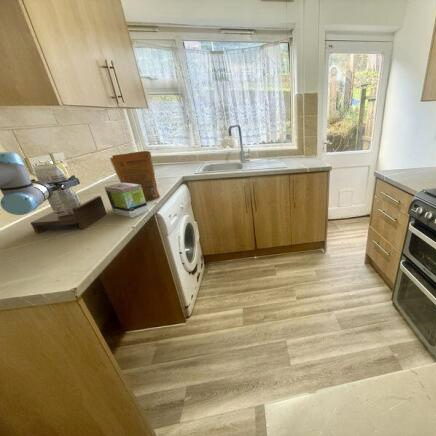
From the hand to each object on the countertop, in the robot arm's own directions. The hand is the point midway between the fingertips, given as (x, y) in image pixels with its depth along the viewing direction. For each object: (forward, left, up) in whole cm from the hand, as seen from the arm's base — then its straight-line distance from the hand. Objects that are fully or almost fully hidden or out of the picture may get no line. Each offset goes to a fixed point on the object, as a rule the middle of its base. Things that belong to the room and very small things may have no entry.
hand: (55, 180), depth 107 cm
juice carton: (0, +1, -16) cm, 16 cm away
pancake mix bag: (+21, +28, -21) cm, 41 cm away
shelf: (0, +1, -21) cm, 21 cm away
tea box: (+22, +10, -21) cm, 32 cm away
